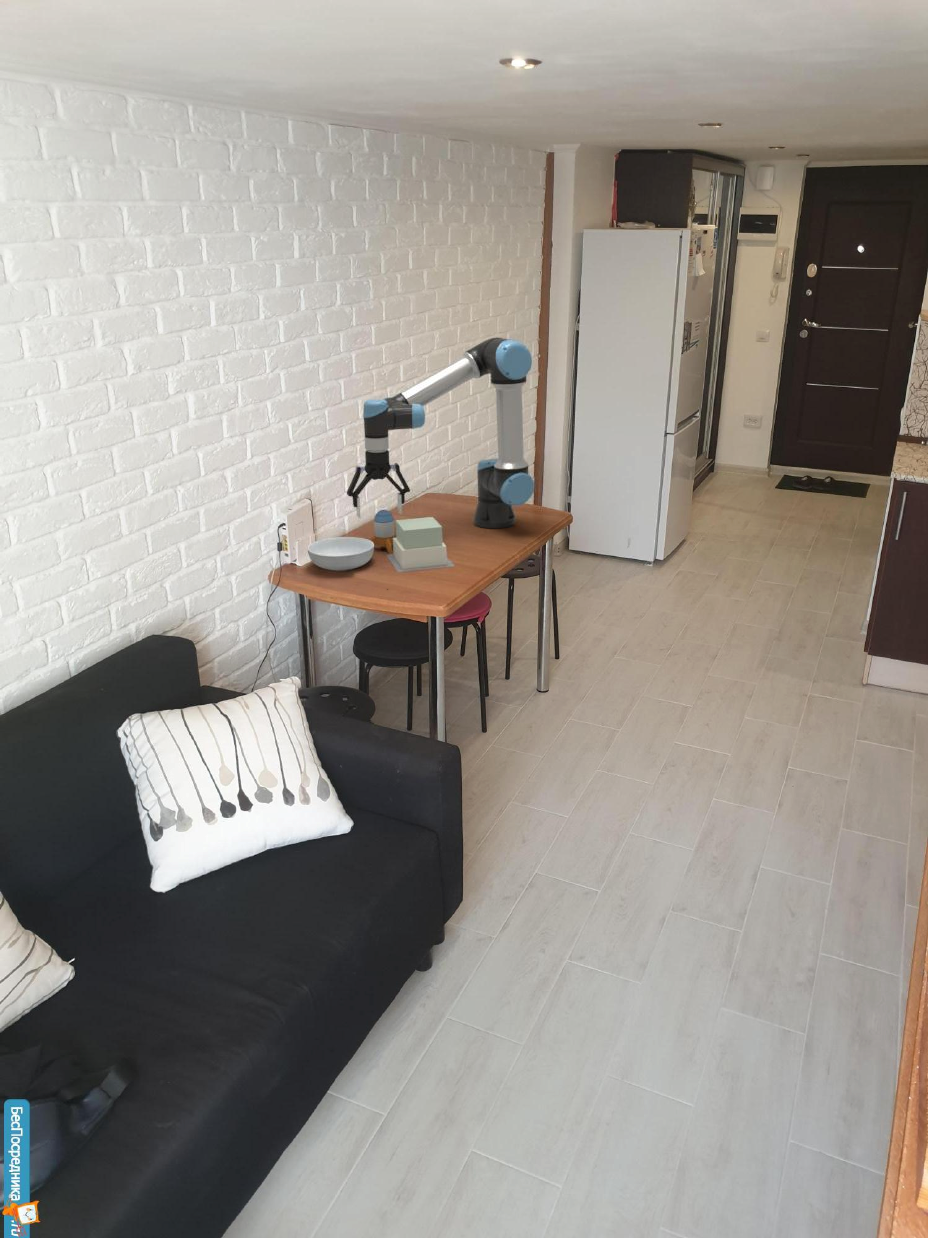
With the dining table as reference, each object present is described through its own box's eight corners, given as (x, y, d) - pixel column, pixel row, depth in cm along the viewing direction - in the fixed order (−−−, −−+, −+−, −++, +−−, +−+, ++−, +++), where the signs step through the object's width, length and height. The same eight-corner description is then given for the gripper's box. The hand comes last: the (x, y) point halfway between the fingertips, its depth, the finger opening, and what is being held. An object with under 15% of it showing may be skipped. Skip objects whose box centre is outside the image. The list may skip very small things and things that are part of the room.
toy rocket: (397, 559, 307) (386, 517, 300) (367, 563, 310) (354, 521, 303) (404, 545, 316) (393, 504, 309) (374, 549, 319) (363, 508, 312)
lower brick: (435, 551, 308) (435, 533, 306) (446, 564, 295) (446, 546, 293) (393, 555, 304) (392, 537, 302) (402, 569, 292) (402, 550, 290)
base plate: (440, 552, 311) (440, 549, 310) (454, 569, 294) (454, 565, 294) (386, 557, 306) (386, 554, 306) (398, 575, 290) (397, 571, 290)
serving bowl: (387, 560, 304) (386, 539, 301) (354, 580, 286) (352, 559, 283) (331, 553, 312) (329, 533, 309) (295, 572, 294) (293, 551, 291)
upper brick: (433, 534, 305) (432, 516, 302) (442, 545, 294) (442, 526, 292) (396, 538, 302) (395, 520, 299) (404, 549, 291) (403, 530, 289)
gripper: (412, 445, 306) (414, 509, 314) (335, 449, 300) (339, 515, 308) (418, 449, 300) (419, 515, 307) (339, 454, 293) (342, 521, 301)
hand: (379, 515), depth 308 cm, fingers open, 13 cm apart
